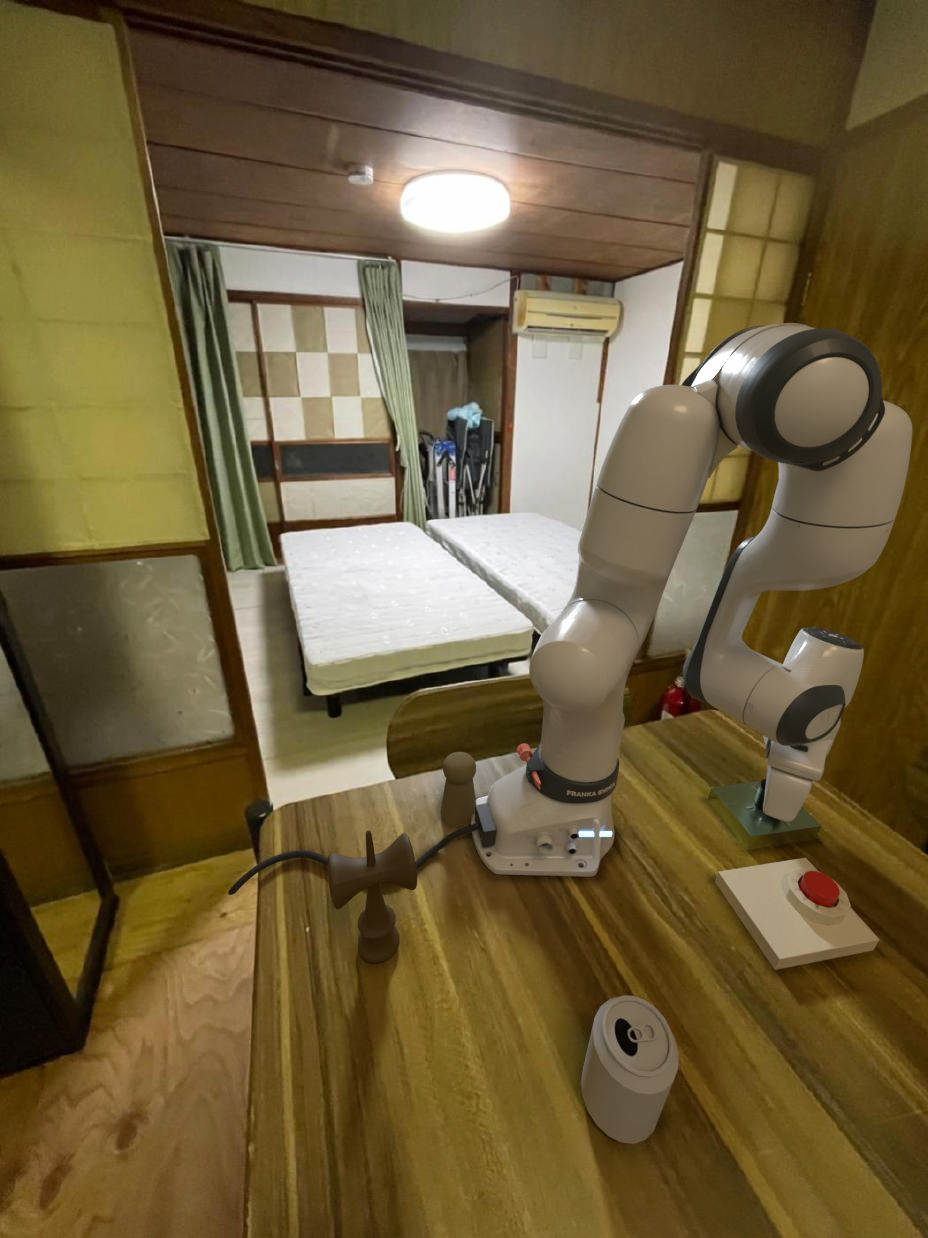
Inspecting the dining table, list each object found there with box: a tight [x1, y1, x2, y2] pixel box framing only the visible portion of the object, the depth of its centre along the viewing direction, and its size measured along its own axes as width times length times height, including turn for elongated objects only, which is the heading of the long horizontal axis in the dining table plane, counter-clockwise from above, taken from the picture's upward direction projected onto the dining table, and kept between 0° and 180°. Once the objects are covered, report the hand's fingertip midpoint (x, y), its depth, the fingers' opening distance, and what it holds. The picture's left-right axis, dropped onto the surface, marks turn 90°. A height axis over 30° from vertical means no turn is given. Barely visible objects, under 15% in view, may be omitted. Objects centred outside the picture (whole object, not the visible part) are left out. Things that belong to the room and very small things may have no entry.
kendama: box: [326, 829, 418, 964], centre depth 60 cm, size 6×10×20 cm, turn 108°
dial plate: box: [707, 780, 822, 851], centre depth 82 cm, size 12×10×3 cm
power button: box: [800, 870, 840, 907], centre depth 67 cm, size 4×4×2 cm
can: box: [580, 994, 679, 1145], centre depth 48 cm, size 8×8×12 cm
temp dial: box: [755, 778, 766, 810], centre depth 81 cm, size 4×4×4 cm
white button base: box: [714, 857, 880, 971], centre depth 67 cm, size 14×12×4 cm
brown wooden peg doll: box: [440, 751, 477, 827], centre depth 81 cm, size 6×6×11 cm
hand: (770, 800), depth 81 cm, fingers closed on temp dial, 4 cm apart
